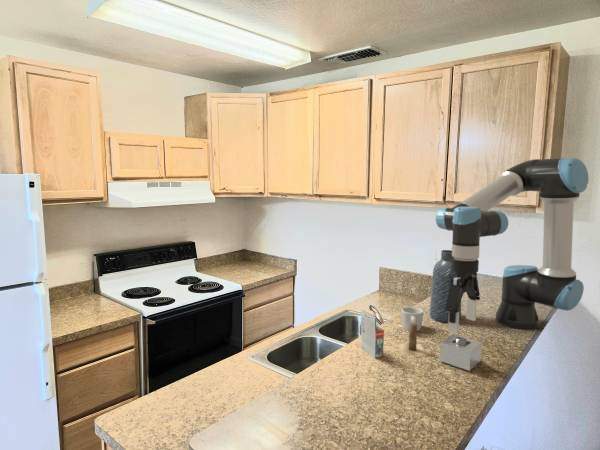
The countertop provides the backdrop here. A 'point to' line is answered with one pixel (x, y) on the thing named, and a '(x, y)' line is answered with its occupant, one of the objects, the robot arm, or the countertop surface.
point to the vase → (442, 287)
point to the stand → (412, 343)
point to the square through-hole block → (460, 352)
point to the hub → (460, 343)
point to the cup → (412, 317)
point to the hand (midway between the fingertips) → (462, 325)
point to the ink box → (371, 336)
